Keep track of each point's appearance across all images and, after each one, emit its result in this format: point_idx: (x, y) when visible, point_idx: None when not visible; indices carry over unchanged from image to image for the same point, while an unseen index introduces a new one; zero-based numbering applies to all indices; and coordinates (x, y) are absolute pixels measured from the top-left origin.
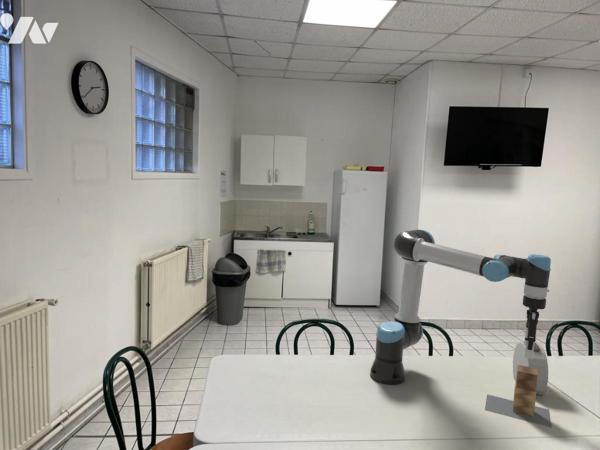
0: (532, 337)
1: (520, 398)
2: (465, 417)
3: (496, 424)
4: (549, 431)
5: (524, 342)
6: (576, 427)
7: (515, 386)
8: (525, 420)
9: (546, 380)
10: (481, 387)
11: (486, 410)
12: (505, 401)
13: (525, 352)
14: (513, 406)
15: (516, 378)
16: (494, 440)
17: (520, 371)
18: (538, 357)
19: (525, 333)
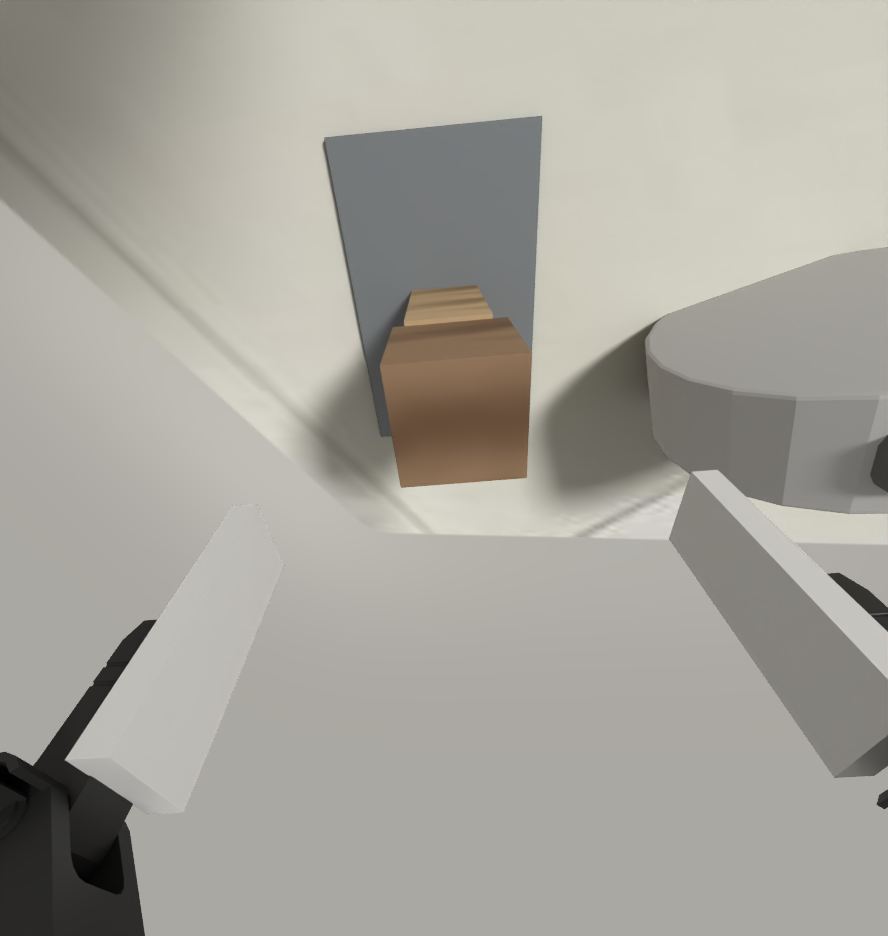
0: (740, 636)
1: None
2: (149, 20)
3: (234, 228)
4: (354, 429)
5: (710, 494)
6: (448, 497)
7: (406, 322)
8: (366, 350)
9: (664, 450)
10: (645, 51)
11: (326, 149)
12: (503, 242)
13: (204, 555)
14: (410, 296)
15: (474, 327)
16: (83, 240)
17: (385, 385)
18: (802, 465)
19: (819, 610)
